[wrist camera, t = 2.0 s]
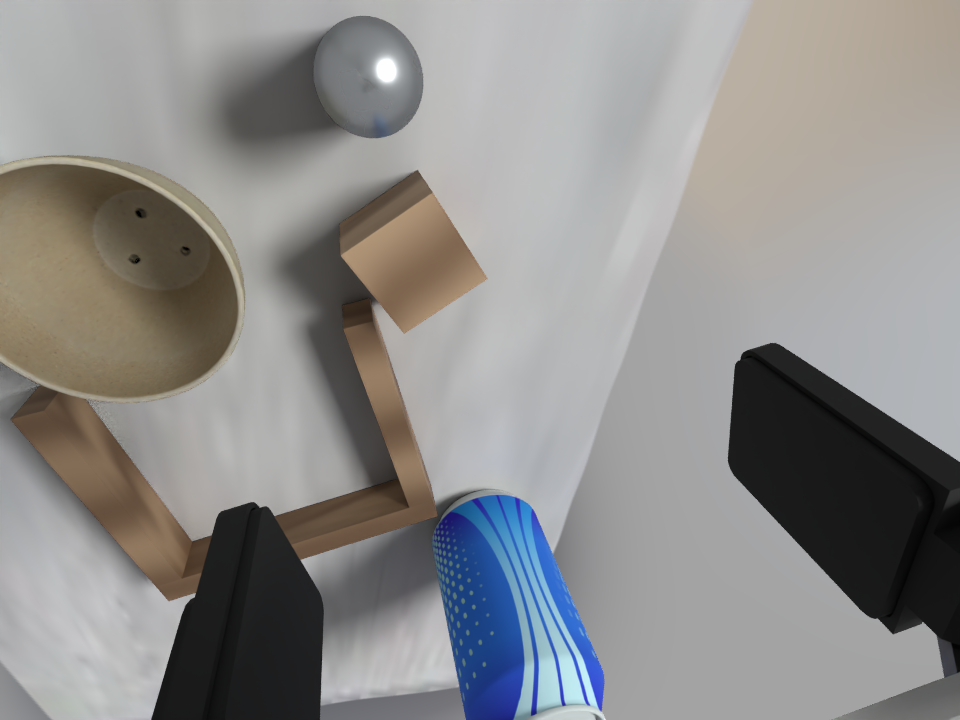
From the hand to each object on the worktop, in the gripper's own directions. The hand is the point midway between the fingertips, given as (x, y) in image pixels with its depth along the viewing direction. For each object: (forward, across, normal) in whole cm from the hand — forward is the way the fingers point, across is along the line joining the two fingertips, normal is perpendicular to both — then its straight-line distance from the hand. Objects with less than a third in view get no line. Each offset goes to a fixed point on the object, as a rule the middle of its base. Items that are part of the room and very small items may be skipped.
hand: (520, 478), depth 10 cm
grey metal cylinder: (+21, 0, -7) cm, 22 cm away
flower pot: (+21, +12, -2) cm, 25 cm away
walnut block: (+21, 0, +1) cm, 21 cm away
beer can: (+22, +1, +25) cm, 33 cm away
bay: (+21, +13, +11) cm, 27 cm away
